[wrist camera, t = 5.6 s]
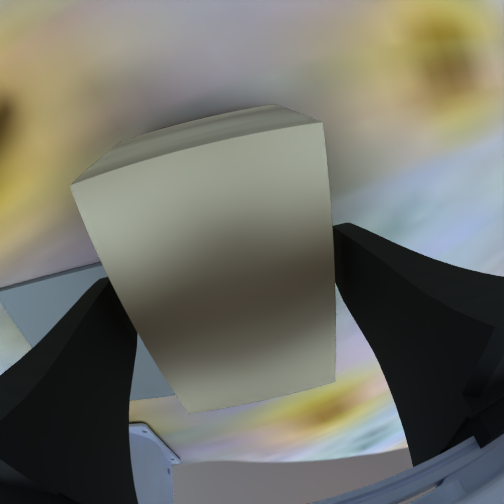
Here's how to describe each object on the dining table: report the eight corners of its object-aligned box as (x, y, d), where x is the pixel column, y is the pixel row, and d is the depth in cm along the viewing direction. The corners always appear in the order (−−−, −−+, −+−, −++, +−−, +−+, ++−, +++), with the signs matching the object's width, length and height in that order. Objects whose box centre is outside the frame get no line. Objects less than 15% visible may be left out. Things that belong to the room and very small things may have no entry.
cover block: (301, 299, 15) (335, 381, 11) (187, 325, 15) (188, 413, 11) (273, 103, 10) (322, 121, 6) (121, 141, 10) (69, 185, 6)
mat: (176, 390, 22) (176, 394, 22) (80, 400, 22) (79, 403, 22) (107, 260, 16) (105, 264, 16) (-3, 289, 16) (-5, 292, 15)
